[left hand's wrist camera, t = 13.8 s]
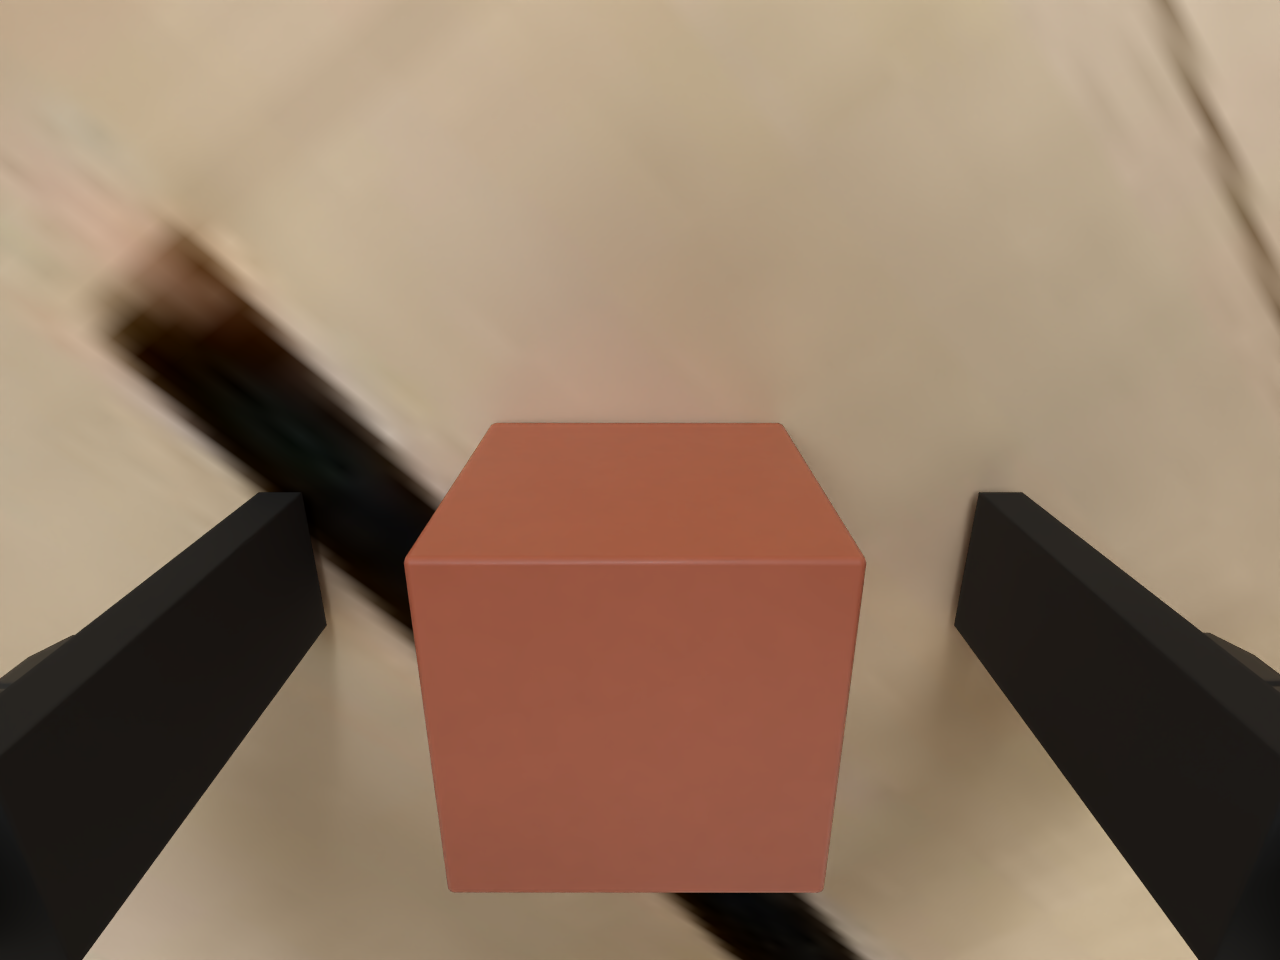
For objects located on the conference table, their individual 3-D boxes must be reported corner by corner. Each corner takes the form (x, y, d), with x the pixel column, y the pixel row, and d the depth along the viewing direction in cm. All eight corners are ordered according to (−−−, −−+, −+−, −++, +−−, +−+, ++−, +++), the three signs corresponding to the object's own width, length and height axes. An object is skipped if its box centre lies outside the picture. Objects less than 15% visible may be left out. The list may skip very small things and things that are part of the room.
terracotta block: (509, 665, 14) (446, 895, 9) (490, 421, 12) (399, 558, 8) (764, 665, 14) (824, 895, 9) (782, 421, 12) (869, 558, 8)
